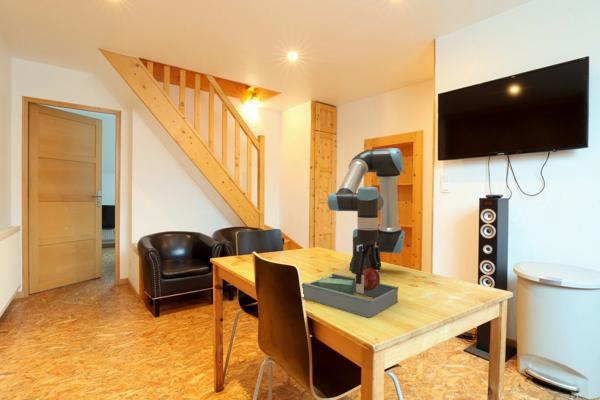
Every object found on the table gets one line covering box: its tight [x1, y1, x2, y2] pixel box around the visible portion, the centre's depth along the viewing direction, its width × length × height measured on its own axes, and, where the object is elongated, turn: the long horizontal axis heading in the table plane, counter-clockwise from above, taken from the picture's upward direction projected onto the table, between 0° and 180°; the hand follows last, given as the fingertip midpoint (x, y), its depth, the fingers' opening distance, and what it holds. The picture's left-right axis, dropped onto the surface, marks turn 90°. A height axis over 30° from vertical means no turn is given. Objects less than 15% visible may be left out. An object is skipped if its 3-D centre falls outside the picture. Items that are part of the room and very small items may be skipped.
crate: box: [301, 273, 399, 319], centre depth 121 cm, size 21×30×6 cm
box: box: [318, 277, 355, 296], centre depth 122 cm, size 7×14×8 cm, turn 74°
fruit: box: [354, 264, 381, 291], centre depth 115 cm, size 9×10×10 cm
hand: (367, 289), depth 116 cm, fingers closed on fruit, 9 cm apart
